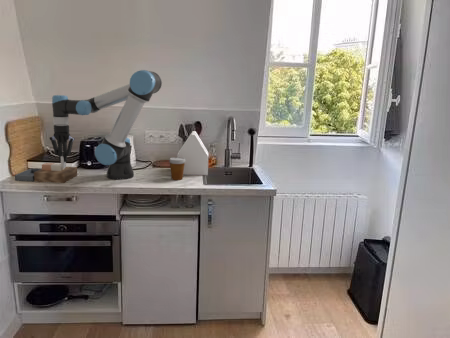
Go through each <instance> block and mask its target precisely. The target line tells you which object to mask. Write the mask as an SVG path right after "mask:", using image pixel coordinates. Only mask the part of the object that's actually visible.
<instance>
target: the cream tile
mask: <svg viewBox="0 0 450 338" xmlns="http://www.w3.org/2000/svg"><path fill="white" fill-rule="evenodd" d="M54 163H55V162H54ZM64 169H65V168H61V162H60V163H59V162H57V163H55V164H53V165H51V171H61V170H64Z"/></svg>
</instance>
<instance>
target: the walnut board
mask: <svg viewBox="0 0 450 338" xmlns="http://www.w3.org/2000/svg"><path fill="white" fill-rule="evenodd" d="M40 169H41V170H38V171H36V172H34V180H35V181H34V182H36V183H37V182H39V183H56V184H57V183H58V184H59V183H60V184H66V183H67V182H68V181H71V180H72V179H74V178H76V177H77V176H78V167H77V166H66V167H65V169H64V170H61V171H49V170H42V168H40Z"/></svg>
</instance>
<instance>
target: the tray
mask: <svg viewBox="0 0 450 338" xmlns="http://www.w3.org/2000/svg"><path fill="white" fill-rule="evenodd" d="M41 169H42V168H33V167H32V168H31V167H30V168H29V169H26V170H24V171H22V172H19V173H17V174H14V181H18V182H19V181H20V182H35V180H34V172H36V171H38V170H41Z"/></svg>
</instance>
